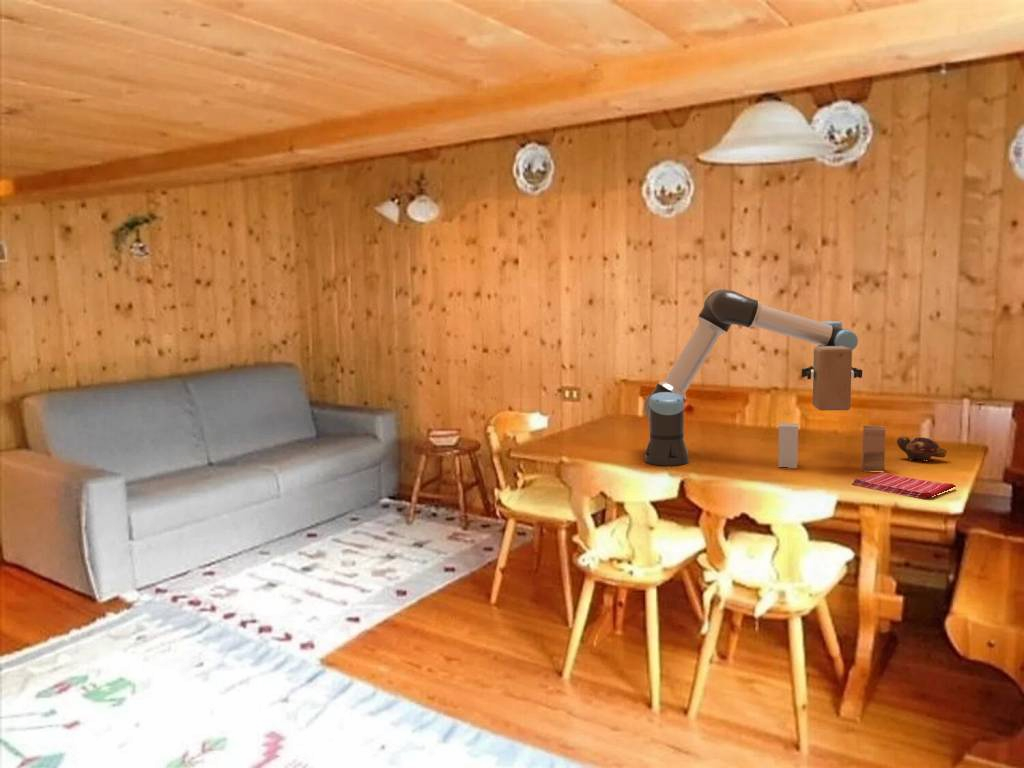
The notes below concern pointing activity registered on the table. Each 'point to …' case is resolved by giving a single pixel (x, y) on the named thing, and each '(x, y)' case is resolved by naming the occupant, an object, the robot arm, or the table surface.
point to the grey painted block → (788, 445)
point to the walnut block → (873, 448)
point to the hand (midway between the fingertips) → (832, 376)
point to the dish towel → (903, 485)
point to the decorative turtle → (920, 448)
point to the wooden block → (832, 377)
